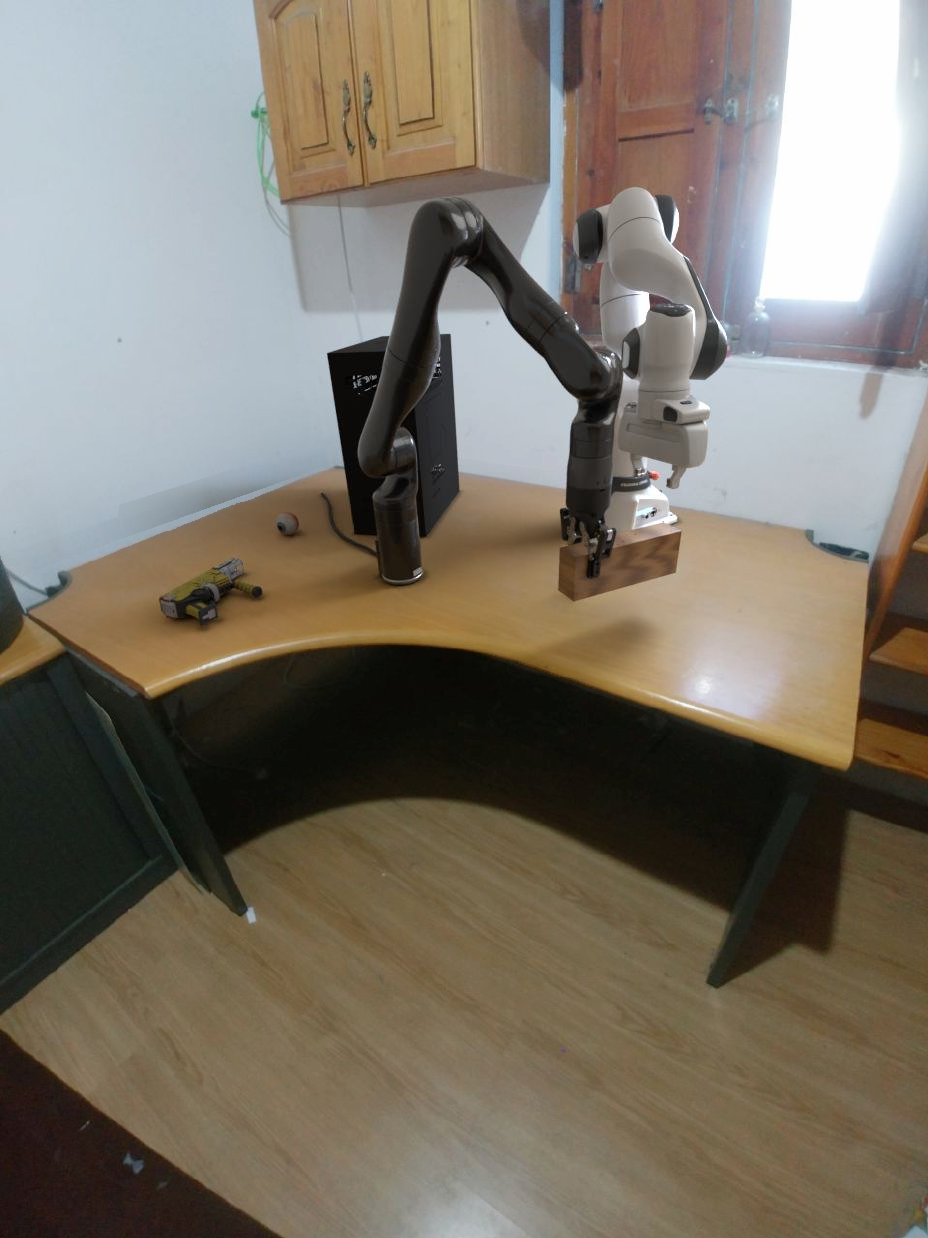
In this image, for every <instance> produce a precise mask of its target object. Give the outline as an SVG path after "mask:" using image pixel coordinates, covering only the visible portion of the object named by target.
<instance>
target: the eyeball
mask: <svg viewBox="0 0 928 1238" xmlns="http://www.w3.org/2000/svg"><path fill="white" fill-rule="evenodd" d="M299 525H300V522H299V519H298V517H297V516H296V515H295V514H294V513H292V512H287V511H286V512H282V513H280V514H279V515H278V516H277V517H276V520H275V527H276V529H277V530H278V531H279V532H280V533H281V534H282V535H285V536H286V535H287V536H289V535H293V534H295V533H296V532H297V531H298V529H299Z"/></svg>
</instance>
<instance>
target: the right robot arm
mask: <svg viewBox="0 0 928 1238" xmlns="http://www.w3.org/2000/svg"><path fill="white" fill-rule="evenodd" d="M679 223H680V217H679V211H678V209H677V204H676V201H675V200H674V198H673V197H672V196H671V195H666V194H655V195H654V196H653V195H652V194H651V192H649V191H648V190H647V189H645V188H643V187H639V186H633V187H628V188H625V189H623V190H622V191H620V192H618V194H617V195H616V196H615V197H614V198H613V199H612V201H611V203H608V204H605V205H602V206H599V207H597V208H595V207H591V208H588V209H587V210H585V211H582V212H581V213H580V214H579V215H578V217H576V219H575V225H574V227H573V233H572V245H573V249H574V252H575V254H576V256H577V260H578V261H580V263H582V265H590V266H591V265H592V266H593V265H597V264H602V263H603V264H602V266H601V270H600V280H599V312H600V327H601V339H602V342H603V344H604V346H605V348H607V349H610V350H612V351H614V352H615V353H616V354H617V355H618V356H619V357H620V360H621V362H622V365H623V385H622V391H621V396H620V401H619V406H618V410H617V414H616V418H615V423H614V443H613V476H612V489H611V502H610V507H609V508H608V509H607V510H606V512H605V514H604V516H605V521H606V524H605V525H606V526H608V527H609V528H610V529H611V528H615V529H616V531H617V533H621V532H625V531H629V530H634V529H638V528H642V527H646V526H650V525H654V524H658V523H662V522H664V523H666V524H668V525H670V526H671V525H672V524H675V523H677V522H678V516H677V515H676V514H675V513H674V512H672V511H670V503H669V502H670V501H669V498H668V497H667V496H666V495H665V494H664V493H663V490H661V489H658V488H656V487H655V486H654V485H652V483H651V480H653V481H658V479H659V478H660V473H659V472H657V471H654V470H651V471H649V470H648V469H647V466H648V459H651V460H653V461H658V462H660V463H661V462H662V463H665V464H669V465H671V471H673V472H672V474H671V476H670V477H667V478H666V485H665V486H666V487H665V488H667V489H670V490H676V489H678V488H680V484H681V483H680V481H681V479H682V477H683V476H684V475H685V473H686V472H687V469H693V468H698V467H700V466H701V465H703V463H704V462H705V461H706V456H707V450H708V440H709V428H708V425H707V423H706V422H705V421H707V420H709V419H710V417H711V416H710V415H711V409H710V407H709V406H708V405H707V404H705V403H704V402H702V401H700V400H699V399H697V398H696V397H695V396H694V395H692V394H691V393H690V392H691V381H706V380H708V379H709V378H710V377H712V376H713V375H714V374H715V373H716V372H717V371H719V369H720V368H721V367H722V366H723V364H724V363H725V361H726V358H727V355H728V338H727V335H726V331H725V329H724V328H723V326H722V325H721V323H720V322H719V320H718V319H717V318H716V316H715V315H714V313H713V310H712V308H711V305H710V303H709V299H708V298H707V295H706V294H705V291H704V288H703V286H702V284H701V281H700V279H699V277H698V274H697V272H696V270H695V268H694V266H693V264H692V262H691V260H690V259H689V258H688V257H687V256H685V255H684V254H683V253H681V252H680V251H678V250H677V249H676V248H675V246H674V245H673V243H674V241H675V239H676V236H677V232H678V229H679ZM649 294H651V295H654V296H658V297H662V298H664V299H667V300H668V301H670V302H664V303H657V304H655V305H653V306H651V307H650V296H649ZM690 380H691V381H690ZM576 403H577V405H578V404H579V400H578V399H576ZM617 533H616V534H617Z"/></svg>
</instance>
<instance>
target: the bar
mask: <svg viewBox="0 0 928 1238" xmlns="http://www.w3.org/2000/svg"><path fill="white" fill-rule="evenodd" d="M682 532H683V530H681V529H679V528H677V527H675V526H672V525H671V524H670V525H668V524H666V523H664V522H662V523H658V524H654V525H650V526H646V527H642V528H638V529H634V530H629V531H625V532H621V533H616V537H615V541H614V545H613V548H612V552H611V556H610V558H607V559H603V560H601V568H600V575H599V576H598V577H597V578H593V579H589V578H588V577H587V567H588V559H589V558H588V551H587V548H586V547H585V546H584V542H580V543H576V544H572V545H564V546H560V547H559V554H558V555H559V556H558V581H557V582H558V583H557V591H558V592H560V593H561V594H562V595H563V596H565V597H566V598H567V599H569V600H571V602H577V601H582V600H584V599H588V598H591V597H594V596H598V595H602V594H606V593H608V592H609V593H610V592H613V591H616V590H620V589H624V588H627V587H631V586H634V585H637V584H641V583H645V582H648V581H652V580H655V579H658V578H662V577H666V576H669V575H673V574H676V573H677V566H678V561H679V554H680V546H681V539H682ZM596 540H597V538H594V539H590V542H592V541H596ZM596 548H597V547H596V546H594V547H593V550H594V553H595V552H596ZM603 552H605V549H604V550H603Z"/></svg>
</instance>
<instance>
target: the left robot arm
mask: <svg viewBox="0 0 928 1238" xmlns="http://www.w3.org/2000/svg"><path fill="white" fill-rule="evenodd" d="M406 244H407V245H406V252H405V257H404V258H405V260H404V265H403V267H404V268H403V274H402V281H401V286H400V291H399V296H398V299H397V304H396V308H395V311H394V312H395V314H394V318H393V322H392V326H391V330H390V334H389V336H390V337H389V340H388V344H387V348H386V352H385V356H384V360H383V365H382V370H381V375H380V379H379V382H378V386H377V390H376V393H375V397H374V401H373V404H372V407H371V410H370V413H369V416H368V418H367V421H366V424H365V426H364V429H363V432H362V434H361V437H360V441H359V445H358V459H359V464H360V467H361V469H362V470H363V472H364V473H365V474H366V475H367V476H369V477H371V478H383V477H386V479H385V481H384V482H383V484H382V485H381V486H380V487H379V488H378V489H377V490H376V491H375V492H374V494H373V506H374V513H375V520H376V528H377V537H375V538H374V545H375V550H374V549H373V548H371V547H369V546H367V545H365V544H362V543H360V542H358V541H355V540H353V539H352V538H349V537H348V536H346V535H345V534H344V533H342V532H341V531H340V530H339V529H338V528H337V526H336V524H335V522H334V519H333V514H332V507H331V506H332V505H331V502H330V499H329V498H328V497H327V496H326V494H325V493H324V492H320V496H321V497H322V498H323V499H324V500H325V502H326V504H327V510H328V511H327V512H328V518H329V519H328V520H329V523H330V525H331V527H332V529H333V530H334V532H335V533H336V534H337V535H338V536H339V537H341V538H342V539H344V540H345V541H346V542H348V543H350V544H352V545H354V546H356V547H359V548H361V549H364V550H365V551H368V552H369V553H371V554H372V555H373V556H375V557H376V559H377V560H376V561H377V567H378V575H379V578H382V580H383V581H384V582H385V583H386V584H389V585H392V586H403V585H404V586H405V585H410V584H413V583H416V582H419V581H420V580H422V578H423V577H424V569H423V560H422V559H423V558H422V548H421V538H420V537H421V536H419V526H418V516H417V505H416V494H417V491H418V472H417V453H416V447H415V443H414V440H413V437H412V436H411V434H410V432H409V431H408V430H407V429H406V428H404V427H402V426H400V424H401V423H402V421H403V420H404V418H405V417H406V416H407V415H408V413H409V412H410V411H411V410H412V409H413V407H414V406H415V405H416V404H417V402H418V401H419V400H420V399H421V397H422V396H423V395H424V393H425V392H426V390H427V388H428V387H429V385H430V382H431V380H432V378H434V377H433V374H434V371H435V368H436V364H437V362H438V358H439V359H440V357H439V353H440V345H441V343H440V334H441V331H440V326H439V307H440V303H441V298H442V296H443V292H444V289H445V285H446V283H447V280H448V278H449V276H450V273H451V271H452V269H455V268H459V267H464V268H465V269H467V270H468V271H470V272H471V273H473V274H474V275H475V276H476V277H478V278H479V279H480V280H482V281H483V282H484V283H485V285H486V286H487V287H488V288H489V289H490V290H491V292H492V293H493V295H494V296H495V298H496V300H497V302H498V304H499V306H500V308H501V310H502V312H503V313H504V316H505V318H506V319H507V321H508V323H509V324H510V325H511V327H512V328H513V330H514V331H515V332H516V334H518V336H520V338H522V339H523V341H525V343H527V345H529V347H530V348H532V349H533V350H534V352H536V353H537V354H538V355H539V356H540V357H541V358H543V359H544V361H545V363H546V364H547V366H548V367H549V369H550V371H551V372H552V374H553V375H554V376H555V378H556V379H557V381H558V382H559V383H560V385H561V386H562V387H563V388H564V389H565V390H566V392H567V393H569V395H571V396H572V397H573V398H575V399H576V400H577V399H578V400H579V404H578V403H577V411H576V414H575V416H574V418H572V421H571V423H570V429H569V446H568V447H569V448H568V450H569V451H568V458H567V465H566V481H565V482H566V484H565V507H561V508H560V509H559V518H560V520H559V521H560V529H561V539H562V540H563V541H564V542H565V541H566V546H568V545H572V544H576V543H580V542H584V546H585V547H586V548H587V551H588V558H589V559H588V567H587V577H588V578H589V579H593V578H597V577H598V576H599V575H600V568H601V560H603V559H607V558H610V556H611V552H612V548H613V545H614V541H615V537H616V534H617V531H616V529H615V528H611V529H610V528H609V527H608V526H606V525H605V524H606V521H605V516H604V514H605V512H606V510H607V509H608V508H609V507H610V502H611V489H612V476H613V443H614V423H615V418H616V414H617V410H618V406H619V401H620V396H621V391H622V385H623V365H622V362H621V357H620V355H618V354H617V353H615V352H614V351H612V350H610V349H608V348H607V347H600V348H596V349H594V348H592V347H591V346H590V344H588V342H587V341H586V340H585V339H584V338H583V337H582V336H581V335H580V334H579V333H580V328H579V325H578V323H577V322H576V321H575V319H574V318H573V317H572V315H570V314H569V313H568V312H567V310H565V309H564V308H563V307H562V306H561V305H560V304H559V303H558V302H557V301H556V300H555V299H554V298H553V297H552V296H550V294H549V293H547V291H546V290H545V289H544V288H543V287H542V286H541V285H540V284H539V283H538V282H537V281H536V280H535V279H534V278H533V277H532V276H531V275H530V273H528V271H527V270H526V268H524V266H523V265H522V264H521V263H520V262H519V260H518V259H517V258H516V257H515V255H514V254H513V253H512V251H511V250H510V249H509V248H508V246H507V245H506V244H505V242H504V241H503V240H502V238H501V237H500V236H499V235H498V233H497V232H496V231H495V229H494V227H493V226H492V224H491V223H490V222H489V221H488V219H487V218H486V216H485V215H484V214H483V213H482V211H481V210H480V209H479V207H477V205H476V204H475V203H474V202H473V201H471V200H470V199H467V198H465V197H461V196H449V197H442V198H434V199H430V200H428V201H426V202H423V204H422V205H420V206H419V207H418V209H417V210H416V212H415V213H414V216H413V218H412V221H411V223H410V227H409V233H408V238H407V243H406ZM437 365H438V364H437ZM568 528H569V529H568ZM593 539H597V540H596V541H592V542H590V540H593ZM594 546H596V547H597V548H596V552H595V553H594V550H593V547H594ZM604 549H605V552H603V550H604Z"/></svg>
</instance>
